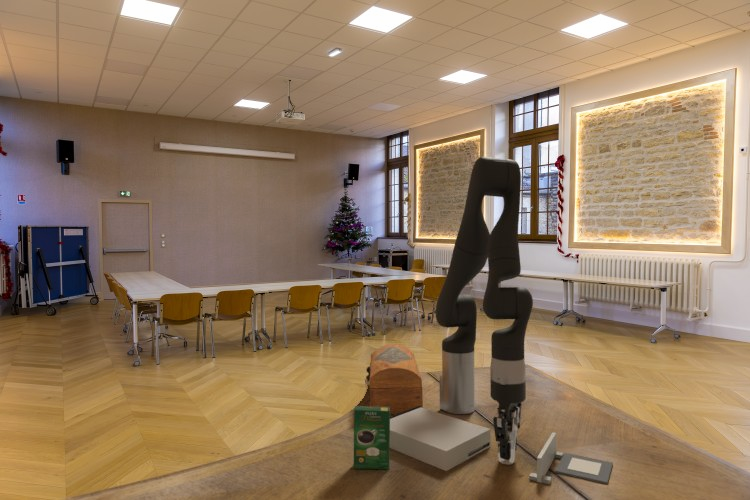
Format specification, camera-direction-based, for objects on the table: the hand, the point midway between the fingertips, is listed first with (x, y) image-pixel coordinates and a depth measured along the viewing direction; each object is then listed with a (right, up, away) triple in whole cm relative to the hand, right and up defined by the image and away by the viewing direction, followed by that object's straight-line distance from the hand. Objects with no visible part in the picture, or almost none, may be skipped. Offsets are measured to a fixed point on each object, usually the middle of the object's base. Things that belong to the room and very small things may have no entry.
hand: (508, 454), depth 109 cm
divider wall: (+8, -2, -3) cm, 8 cm away
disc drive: (-16, -2, +10) cm, 19 cm away
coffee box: (-30, -2, -1) cm, 30 cm away
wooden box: (-24, -1, +45) cm, 51 cm away
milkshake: (0, -2, 0) cm, 2 cm away
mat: (+15, -2, -3) cm, 16 cm away
